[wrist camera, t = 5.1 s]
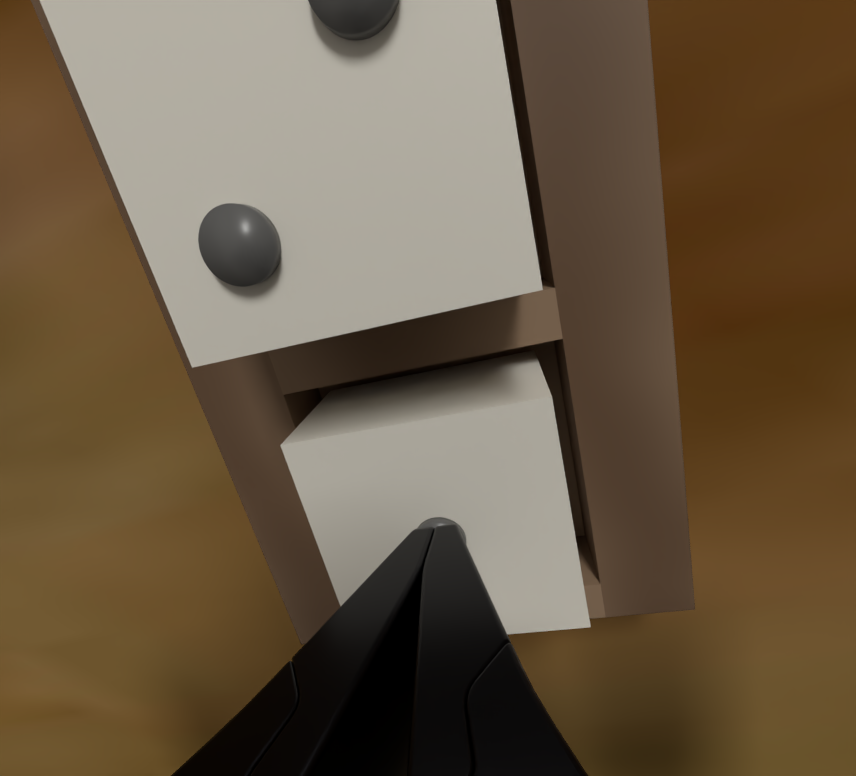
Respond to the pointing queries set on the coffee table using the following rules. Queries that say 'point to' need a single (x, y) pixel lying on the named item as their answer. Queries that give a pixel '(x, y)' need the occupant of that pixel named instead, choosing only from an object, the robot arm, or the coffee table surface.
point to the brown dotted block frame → (514, 325)
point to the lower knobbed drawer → (447, 482)
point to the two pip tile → (307, 159)
